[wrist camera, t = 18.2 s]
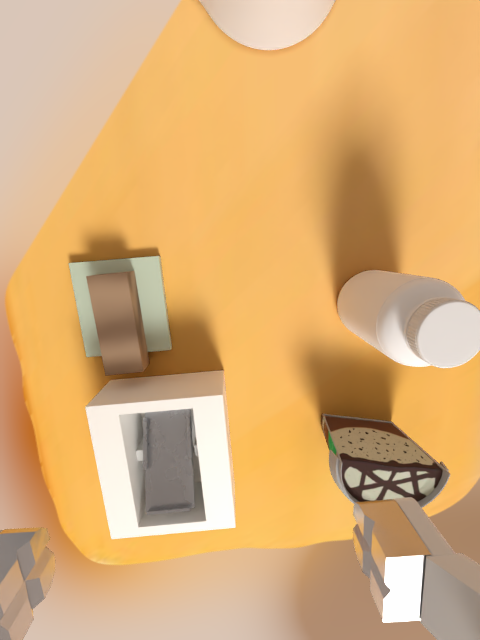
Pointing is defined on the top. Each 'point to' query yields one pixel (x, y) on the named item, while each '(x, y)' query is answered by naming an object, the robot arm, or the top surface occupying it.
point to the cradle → (168, 461)
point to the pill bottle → (411, 318)
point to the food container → (380, 461)
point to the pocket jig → (127, 451)
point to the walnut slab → (118, 322)
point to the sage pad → (149, 298)
